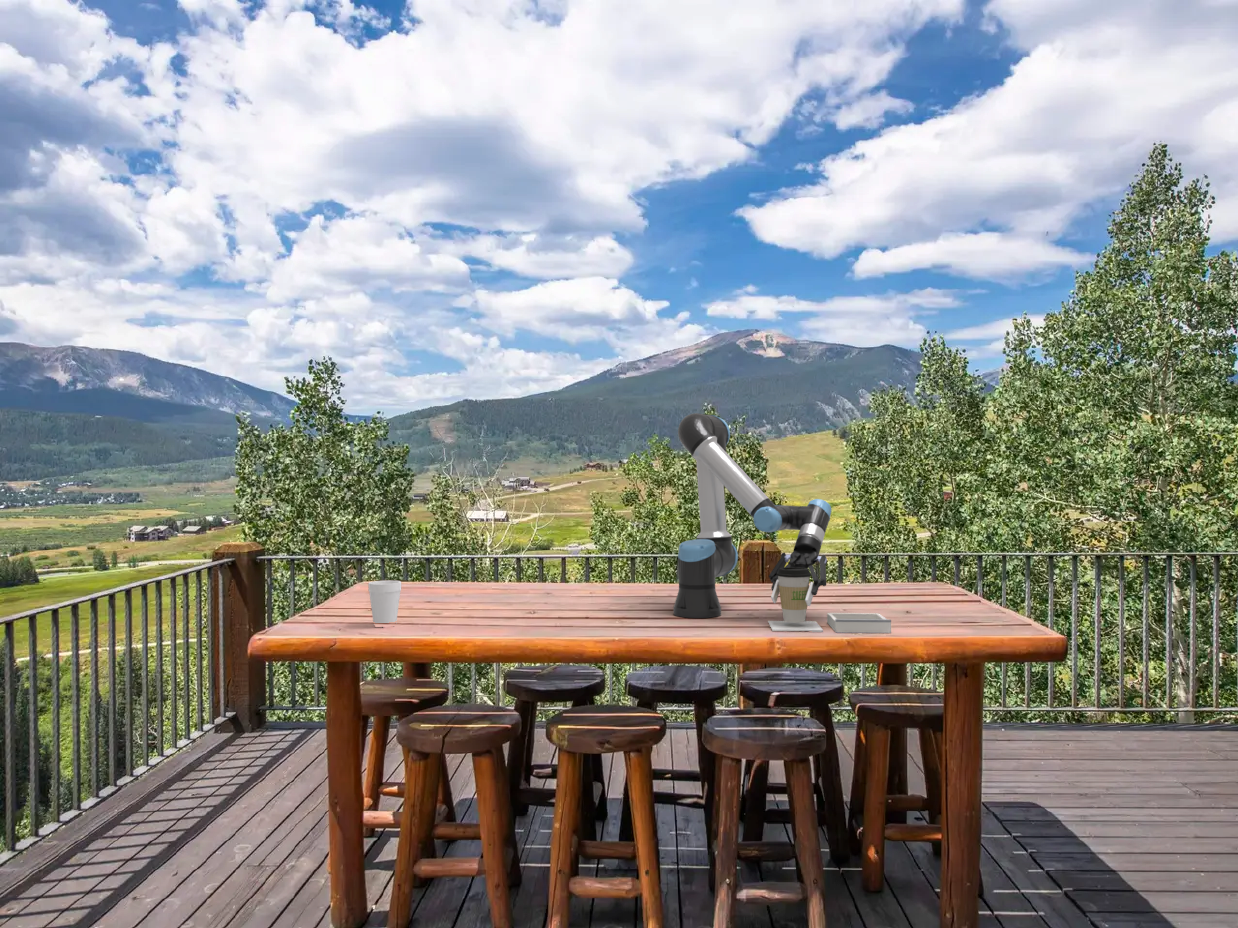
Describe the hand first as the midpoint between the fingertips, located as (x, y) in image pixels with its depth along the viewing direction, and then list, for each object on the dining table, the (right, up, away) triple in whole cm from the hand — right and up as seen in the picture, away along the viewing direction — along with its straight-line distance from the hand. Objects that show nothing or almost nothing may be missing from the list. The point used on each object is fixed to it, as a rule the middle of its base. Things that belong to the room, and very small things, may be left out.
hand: (790, 601), depth 232 cm
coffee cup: (+2, -6, +2) cm, 7 cm away
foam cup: (-119, -9, +9) cm, 120 cm away
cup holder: (+20, -8, +1) cm, 21 cm away
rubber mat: (+2, -8, +2) cm, 8 cm away
